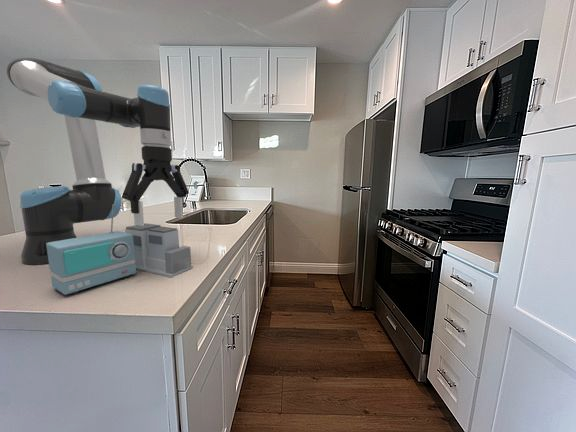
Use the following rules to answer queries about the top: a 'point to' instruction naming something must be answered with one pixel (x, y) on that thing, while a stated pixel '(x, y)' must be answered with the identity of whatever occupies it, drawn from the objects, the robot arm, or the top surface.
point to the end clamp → (176, 258)
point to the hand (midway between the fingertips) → (160, 221)
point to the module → (161, 241)
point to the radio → (90, 260)
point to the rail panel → (162, 267)
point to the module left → (140, 241)
